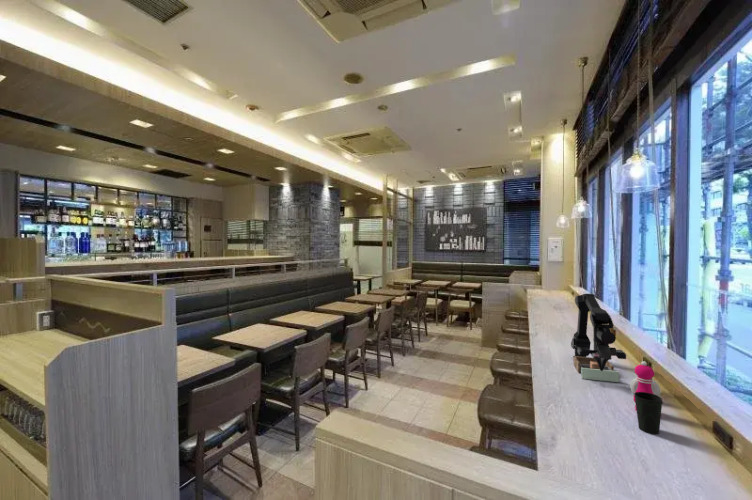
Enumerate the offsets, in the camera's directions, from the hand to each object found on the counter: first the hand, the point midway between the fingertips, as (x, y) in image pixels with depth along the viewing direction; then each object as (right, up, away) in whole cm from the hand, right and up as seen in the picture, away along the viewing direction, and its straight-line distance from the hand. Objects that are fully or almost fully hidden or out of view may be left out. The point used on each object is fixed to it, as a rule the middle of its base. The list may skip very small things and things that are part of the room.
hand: (601, 370), depth 157 cm
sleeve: (+6, -6, +15) cm, 17 cm away
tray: (+3, -6, +8) cm, 11 cm away
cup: (-11, -6, -41) cm, 43 cm away
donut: (+6, -6, -18) cm, 20 cm away
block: (+4, -5, +10) cm, 11 cm away
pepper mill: (-2, -6, -28) cm, 29 cm away
